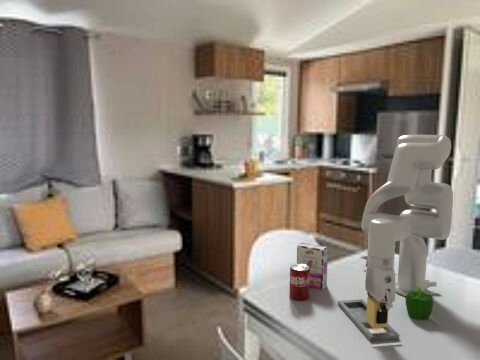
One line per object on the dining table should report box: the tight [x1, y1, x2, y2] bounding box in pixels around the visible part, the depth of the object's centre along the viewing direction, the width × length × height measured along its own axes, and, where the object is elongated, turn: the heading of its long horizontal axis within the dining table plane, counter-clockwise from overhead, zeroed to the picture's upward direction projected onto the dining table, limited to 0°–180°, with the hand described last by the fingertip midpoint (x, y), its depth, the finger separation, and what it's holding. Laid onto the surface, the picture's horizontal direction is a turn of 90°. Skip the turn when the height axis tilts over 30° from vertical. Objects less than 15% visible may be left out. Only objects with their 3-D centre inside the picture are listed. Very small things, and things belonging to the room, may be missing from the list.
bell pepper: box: [405, 285, 434, 320], centre depth 129 cm, size 8×8×10 cm
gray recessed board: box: [337, 298, 400, 343], centre depth 126 cm, size 9×24×2 cm, turn 9°
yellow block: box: [366, 296, 389, 328], centre depth 118 cm, size 4×4×8 cm
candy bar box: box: [296, 242, 329, 291], centre depth 153 cm, size 11×5×16 cm, turn 56°
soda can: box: [288, 263, 311, 302], centre depth 142 cm, size 7×7×12 cm
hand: (377, 318), depth 118 cm, fingers closed on yellow block, 4 cm apart
